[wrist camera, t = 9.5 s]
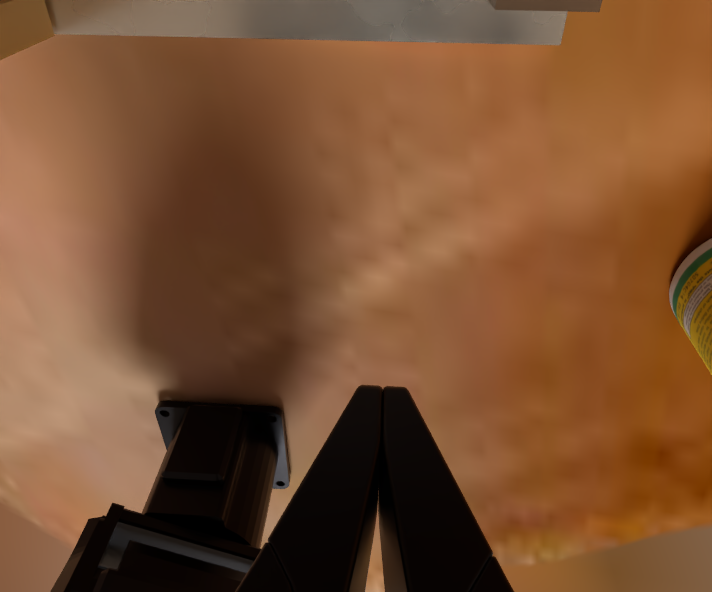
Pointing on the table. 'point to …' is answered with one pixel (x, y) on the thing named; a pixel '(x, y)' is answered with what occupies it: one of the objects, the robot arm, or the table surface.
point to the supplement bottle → (695, 299)
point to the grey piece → (324, 19)
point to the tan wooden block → (23, 25)
